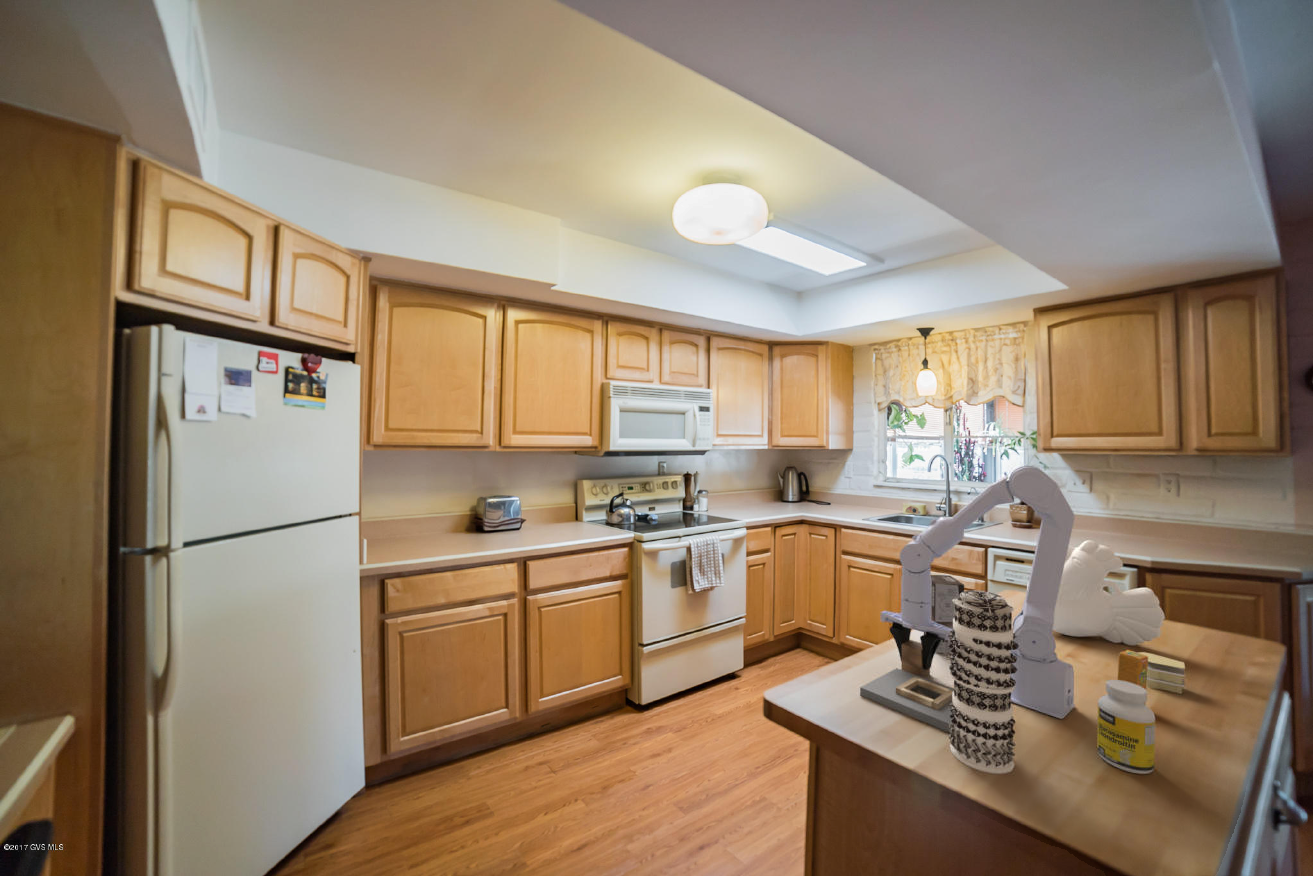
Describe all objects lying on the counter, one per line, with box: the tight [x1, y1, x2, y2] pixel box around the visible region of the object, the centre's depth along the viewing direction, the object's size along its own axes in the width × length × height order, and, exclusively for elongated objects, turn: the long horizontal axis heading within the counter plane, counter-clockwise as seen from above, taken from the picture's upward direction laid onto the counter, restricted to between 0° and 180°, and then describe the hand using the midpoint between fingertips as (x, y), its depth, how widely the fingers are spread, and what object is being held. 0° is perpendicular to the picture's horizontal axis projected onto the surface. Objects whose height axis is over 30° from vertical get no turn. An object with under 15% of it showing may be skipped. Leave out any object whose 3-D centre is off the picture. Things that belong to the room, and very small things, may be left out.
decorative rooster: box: [1026, 539, 1166, 646], centre depth 128 cm, size 25×16×25 cm
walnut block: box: [900, 639, 931, 678], centre depth 109 cm, size 4×4×6 cm
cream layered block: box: [1137, 651, 1186, 695], centre depth 105 cm, size 10×9×6 cm
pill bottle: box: [1096, 679, 1156, 775], centre depth 79 cm, size 6×6×12 cm
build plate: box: [859, 667, 954, 734], centre depth 97 cm, size 18×14×2 cm
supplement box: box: [1117, 649, 1148, 704], centre depth 96 cm, size 3×3×10 cm
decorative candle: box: [948, 589, 1019, 775], centre depth 80 cm, size 9×9×25 cm
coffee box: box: [923, 574, 965, 655], centre depth 124 cm, size 9×6×16 cm
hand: (915, 664), depth 109 cm, fingers closed on walnut block, 4 cm apart
